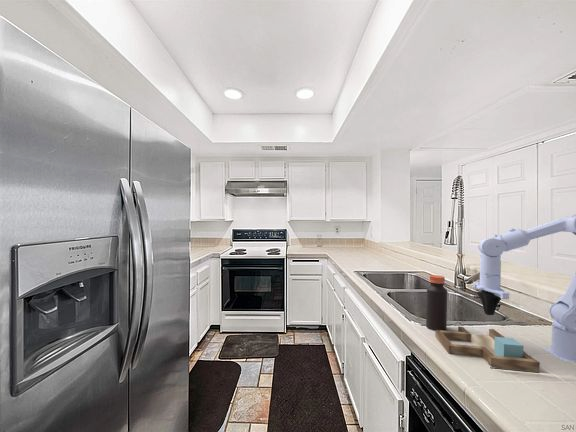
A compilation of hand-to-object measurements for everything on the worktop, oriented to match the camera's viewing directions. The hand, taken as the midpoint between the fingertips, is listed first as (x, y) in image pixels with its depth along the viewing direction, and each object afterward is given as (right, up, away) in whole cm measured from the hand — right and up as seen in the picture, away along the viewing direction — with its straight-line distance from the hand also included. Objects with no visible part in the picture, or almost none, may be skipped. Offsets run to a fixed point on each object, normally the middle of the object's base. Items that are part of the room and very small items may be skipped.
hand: (489, 314), depth 95 cm
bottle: (-12, -10, +11) cm, 19 cm away
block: (-2, -9, -10) cm, 14 cm away
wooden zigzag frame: (-7, -10, -5) cm, 13 cm away
